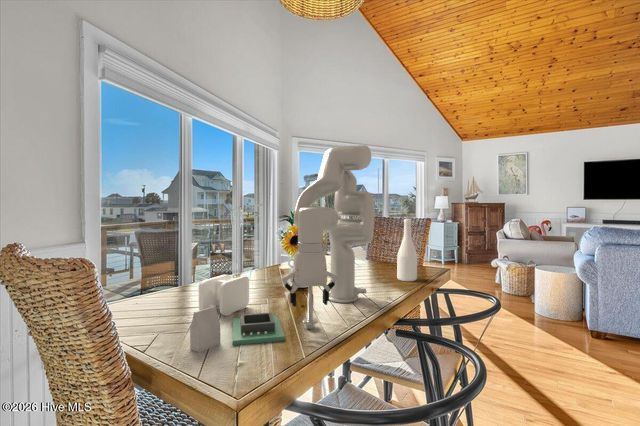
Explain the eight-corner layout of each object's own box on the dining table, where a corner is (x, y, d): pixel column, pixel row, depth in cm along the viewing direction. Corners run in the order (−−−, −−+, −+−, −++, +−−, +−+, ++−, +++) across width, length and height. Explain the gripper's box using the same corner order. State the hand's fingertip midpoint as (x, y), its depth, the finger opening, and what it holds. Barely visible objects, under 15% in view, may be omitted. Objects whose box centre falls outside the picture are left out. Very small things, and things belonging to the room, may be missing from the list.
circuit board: (277, 319, 115) (277, 307, 115) (284, 340, 97) (284, 327, 97) (233, 322, 111) (233, 310, 111) (232, 345, 94) (232, 331, 94)
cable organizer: (221, 319, 114) (221, 284, 114) (197, 314, 119) (197, 280, 118) (249, 306, 128) (249, 275, 128) (226, 303, 132) (226, 272, 132)
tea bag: (220, 343, 95) (220, 307, 95) (199, 352, 90) (198, 314, 89) (211, 340, 97) (211, 305, 97) (190, 349, 92) (189, 311, 91)
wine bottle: (397, 281, 169) (398, 219, 168) (396, 277, 178) (397, 218, 177) (417, 282, 167) (418, 219, 166) (415, 277, 177) (416, 218, 176)
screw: (299, 328, 107) (309, 323, 111) (311, 331, 104) (321, 327, 108) (299, 285, 106) (309, 282, 110) (311, 288, 103) (321, 285, 107)
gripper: (334, 246, 112) (333, 300, 112) (280, 247, 108) (279, 302, 108) (341, 249, 104) (340, 306, 105) (283, 250, 100) (282, 309, 101)
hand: (309, 304), depth 106 cm, fingers open, 9 cm apart
